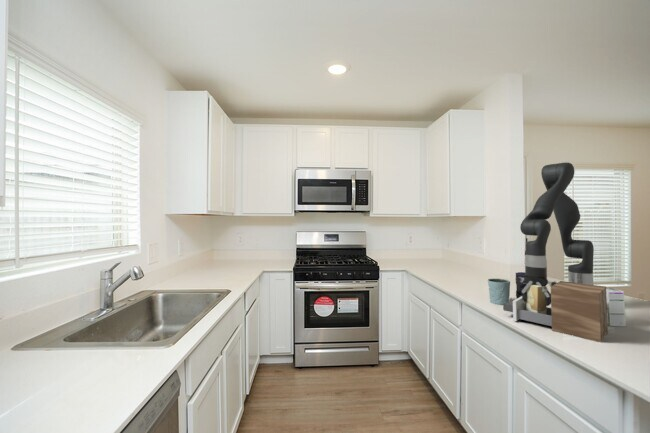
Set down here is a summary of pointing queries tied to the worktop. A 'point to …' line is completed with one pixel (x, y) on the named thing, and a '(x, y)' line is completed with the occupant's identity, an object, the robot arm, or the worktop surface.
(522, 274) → the storage jar
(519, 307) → the drawer
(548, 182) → the robot arm
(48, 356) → the worktop surface
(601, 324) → the wood grain block
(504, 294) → the teal planter pot
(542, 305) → the skincare box
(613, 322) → the syrup box
